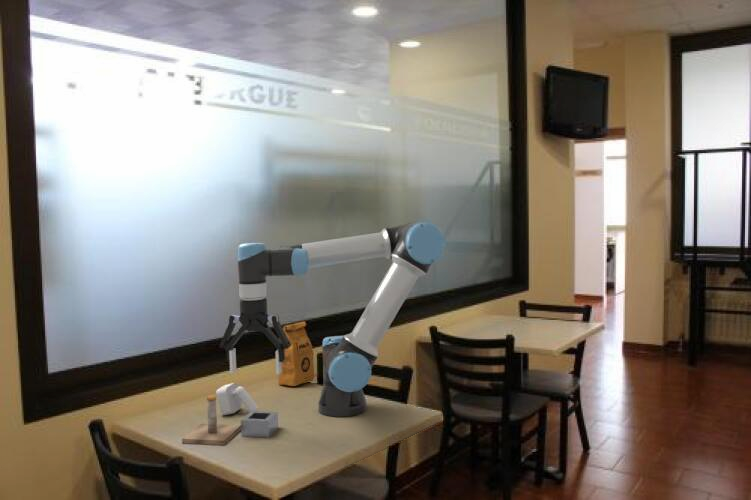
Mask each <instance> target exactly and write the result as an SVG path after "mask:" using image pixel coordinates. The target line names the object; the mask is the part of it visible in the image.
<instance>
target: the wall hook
mask: <svg viewBox="0 0 751 500" xmlns="http://www.w3.org/2000/svg"><path fill="white" fill-rule="evenodd" d="M215 396H216V400H217V403H218V406H219V411H220V414H221V415H222V416H229V415H232V414H235V413H236V412H238V410H240V409H242V407H243V406H244V407H245V408H246V410H247V412H248V413H249V412H251V411H258V409H259V407H258V405H257V403H256V402H255V401H254V399H253V398H252V396H251V395H250V394H249V393H248V392H247V390H246V389H245V387H243V386H240V385H238V383H236V382H232V383H226V384H224V385H223V386H221V387H219V388H218V389H216V392H215Z"/></svg>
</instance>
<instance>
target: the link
mask: <svg viewBox="0 0 751 500" xmlns="http://www.w3.org/2000/svg"><path fill="white" fill-rule="evenodd" d="M240 425H241V430H240V436H241V437H255V438H270V437H271V436H272V435H273V434H274V432H275V431H276V430H277V429H279V412H278V411H263V410H262V411H261V410H255V411H251V412H249V411H248V413H247V414H246V415H245V416H244V417H243V418H242V419H240Z"/></svg>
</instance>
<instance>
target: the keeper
mask: <svg viewBox="0 0 751 500" xmlns="http://www.w3.org/2000/svg"><path fill="white" fill-rule="evenodd" d="M206 409H207V423H201V424H199V425H198V426H197V427H196V428H194V429H193V430H191V431H190V432H189V433H188V434H186V435H185V436H184V437H183V438H181V439H182V441H181V442H182V444H194V445H195V444H196V445H198V444H199V445H216V446H226V444H227V443H229V442H230V440H232V439H233V437H235V436H236V435H237V434H238V433H239V432H241V424H223V423H222V424H219V423H217V422H218V421H217V420H218V419H217V396H216V394H213V395H212V394H211V395H207V396H206Z"/></svg>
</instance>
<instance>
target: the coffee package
mask: <svg viewBox="0 0 751 500" xmlns="http://www.w3.org/2000/svg"><path fill="white" fill-rule="evenodd" d="M306 326H307V323H306V321H301V322H296V323H291V324H287V325H284V326H283V327H282V328H283V330H284V332H285V334H286V336H287V338H288V340H289V342H290V344H291V346H290V347H289V348H287V349H285V350H284V353H285V360H284V361H283V362H282V372H281V373H280V374H279V375H277V376H278V378H277V380H278V381H277V383H278V385H279V386H289V387H296V386H299V385H304V384H307V383H310V382H312V381H313V380H314V378H315V368H314V366H315V365H314V350H313V345H312V343H311V340H310V338H309V336H308V334H307V331H306V329H305V327H306ZM278 339H279V340H280V338H279V337H278ZM280 341H281V340H280Z"/></svg>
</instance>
